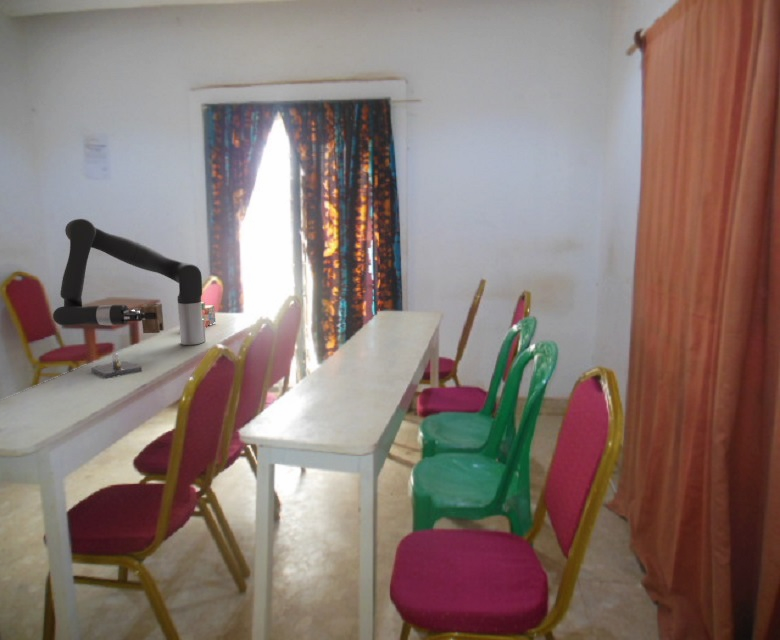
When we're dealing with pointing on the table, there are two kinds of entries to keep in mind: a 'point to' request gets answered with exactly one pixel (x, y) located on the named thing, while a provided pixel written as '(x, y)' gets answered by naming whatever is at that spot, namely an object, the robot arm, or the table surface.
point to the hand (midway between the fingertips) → (158, 314)
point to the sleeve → (152, 324)
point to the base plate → (116, 368)
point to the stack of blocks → (208, 314)
